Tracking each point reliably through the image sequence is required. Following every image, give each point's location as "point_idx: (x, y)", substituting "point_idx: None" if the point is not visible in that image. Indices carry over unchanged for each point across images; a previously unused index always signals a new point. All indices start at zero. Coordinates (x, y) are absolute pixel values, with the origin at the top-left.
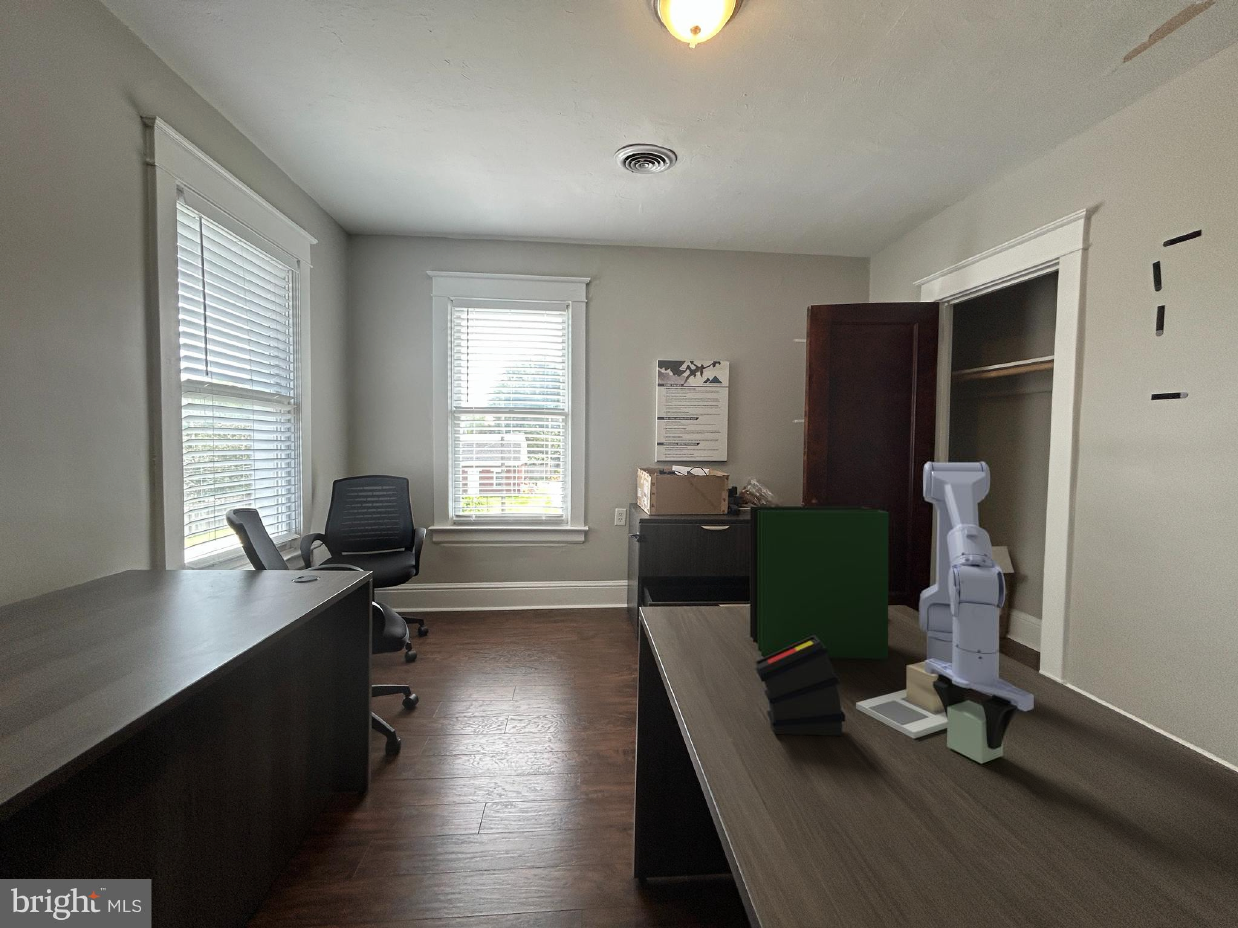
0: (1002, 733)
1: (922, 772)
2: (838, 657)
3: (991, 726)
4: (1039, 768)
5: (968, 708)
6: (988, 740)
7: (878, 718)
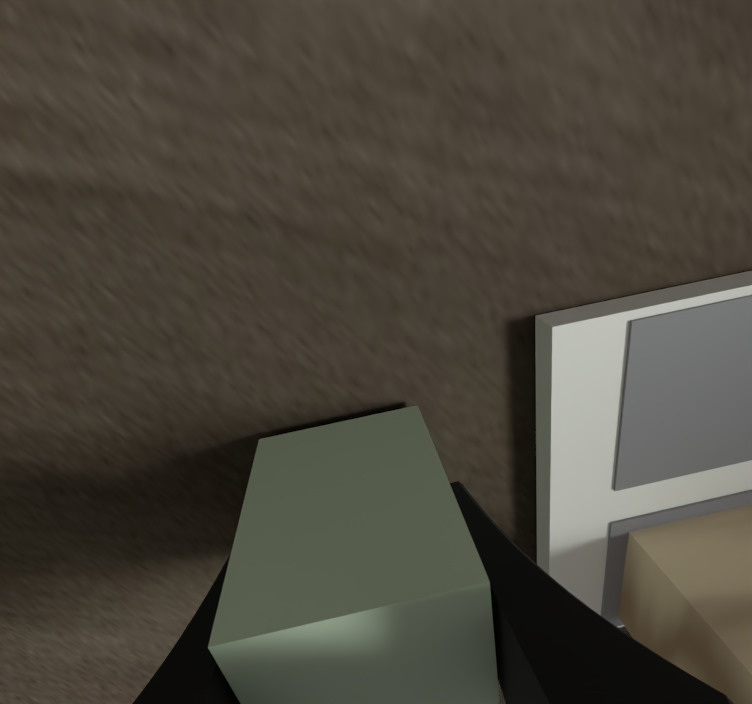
0: None
1: (253, 81)
2: None
3: (182, 657)
4: None
5: (415, 676)
6: None
7: (743, 275)
